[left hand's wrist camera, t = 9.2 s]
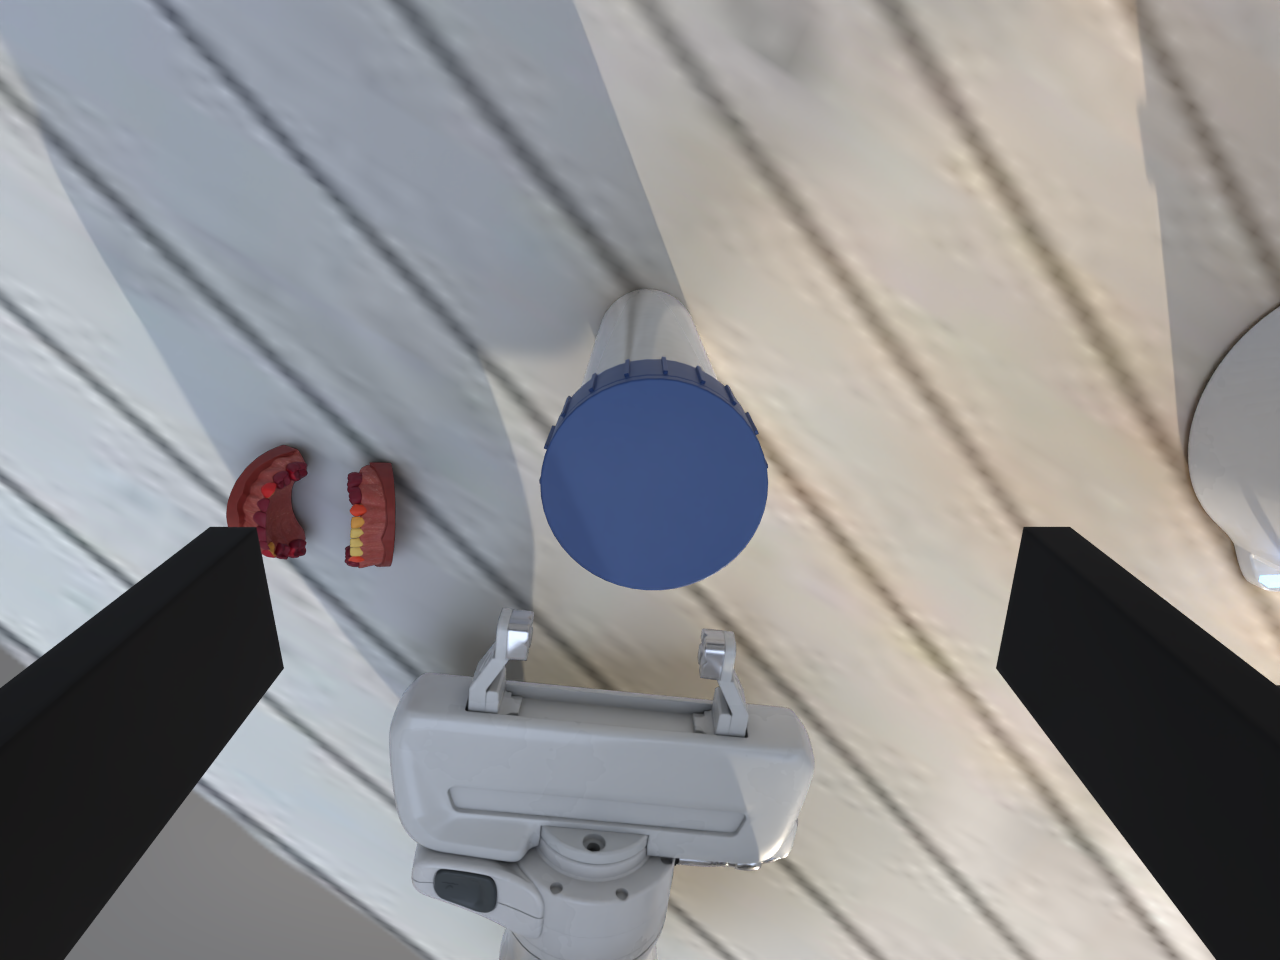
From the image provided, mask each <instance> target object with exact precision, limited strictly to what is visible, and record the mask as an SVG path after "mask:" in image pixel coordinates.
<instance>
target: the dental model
mask: <svg viewBox="0 0 1280 960" xmlns="http://www.w3.org/2000/svg"><path fill="white" fill-rule="evenodd" d="M306 468H307V464H306V463H305V461H304V459H303V457H302V455H301V454H300V452H299V450H297V449H295V448H292V447H289V446H286V445H281V446H279V447H276V448H274V449H271V450H269V451H267V452H265V453H264V454H262V455H261V456H259V457H258V458H256V459H255V460H254V461H253V462H252V463H251V464H250V465H249V466H248V467H247V468H246V469H245V470H244V471H243V473H242V474H241V475H240V477H239V478H238V479H237V481H236V483H235V485H234V487H233V489H232V491H231V494H230V497H229V500H228V504H227V512H226V518H227V524H228V527H256V528H257V533H258V538H259V543H260V548H261V553H262V554H263V555H265V556H267V557H272V558H275V557H277V558H279V559H287V558H288V556H289V557H290V558H298V557H299V556H303V555H305V554H306V548H305V545H306V541H305V539H306V538H305V533H304V530H303V528H302V527H301V526H300V525H299V523H298V522H297V520H296V517H295V515H294V513H293V509H292V504H291V491H292V487H293V484H294V482H295V481H298V480H300V479H301V478H303V477H305V476H306V475H307V471H306ZM347 486H348V489H347V491H348V492H349V498H350V499H349V501H350V502H351V503H352V505H353V506H352V508H351V509H350V513H351V514H352V515H353V516H356V517H353V518H352V520H351V528H353V529H351V534H350V538H353V539H350V545H349V546H347V547H346V548H345V550H346V552H345V555H346V556H345V558H346V559H345V563H347V565H349V566H352V567H358V568H363V567H368V566H372V565H375V566H377V567H388V566H391V563H392V559H393V551H394V541H395V489H394V477H393V470H392V465H391V463H378V462H370V465H366V466H364V467H363V468H361V470H360V471H359V473H357V472H352V473H350V474H348V483H347ZM357 516H360V517H357ZM359 527H360V528H359ZM358 537H359V538H358Z"/></svg>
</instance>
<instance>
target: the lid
mask: <svg viewBox="0 0 1280 960" xmlns="http://www.w3.org/2000/svg"><path fill="white" fill-rule="evenodd" d="M757 434H759V433H758V431H757V429H756V427H755V425H754V423H753V421H752V419H751V417H750V415H749V413H748V412H747V413H745V412H744V410H743V409H742V407H741V405H740V404H739V402H738V401H737V400H736V398H735V397H734V395H733V393H732V391H731V389H730V387H729V386H728V385H726V386H724V385H723V384H721V383H720V382H719V381H718V380H716V379H715V378H714V377H712V376H711V375H709V374H707V373H705V372H704V371H702V369H701V367H700V366H698V365H697V366H696V368H695V367H693V366H690V365H688V364H684V363H680V362H676V361H671V360H666V357H662V358H661V359H644V360H636V361H630V359H627V360H625V363H623V364H619V365H617V366H614V367H612V368H609V369H607V370H605V371H603V372H601V373H600V374H598V375H597V373H594V374H593V375H592V378H591V380H589V381H588V382H587V383H585V384H584V385H583V386H582V387H581V388H580V389H579V390H578V391H577V392H576V393H575V394H574V395H573V396H572V397H570V396H568V398H567V400H566V402H565V405H564V408H563V411H562V413H561V415H560V416H559V419H558V421H557V424H556V426H552V428H551V430H550V433H549V436H548V438H547V441H546V443H545V446H544V449H547V451H546V453H545V457H544V461H543V465H542V471H541V477H540V480H539V481H540V485H541V499H542V504H543V509H544V512H545V515H546V518H547V521H548V524H549V526H550V528H551V530H552V532H553V534H554V536H555V537H556V539H557V540H558V542H559V543H560V545H561V546H562V547H563V548H564V550H565V551H566V552H567V553H568V554H569V555H570V556H571V557H572V558H573V559H574V560H575V561H576V562H577V563H578V564H580V565H581V566H582V567H583V568H585V569H586V570H588V571H589V572H591V573H592V574H594V575H596V576H598V577H600V578H602V579H604V580H606V581H609V582H611V583H614V584H617V585H620V586H624V587H628V588H632V589H641V590H666V589H675V588H679V587H683V586H687V585H690V584H693V583H696V582H699V581H701V580H703V579H705V578H707V577H709V576H711V575H713V574H715V573H716V572H718V571H719V570H721V569H722V568H724V567H725V566H727V565H728V564H729V563H730V562H731V561H732V560H734V559H735V558H736V557H737V556H738V555H739V554H740V552H741V551H742V550H743V549H744V548H745V547H746V546H747V544H748V543H749V541H750V540H751V538H752V537H753V535H754V533H755V532H756V530H757V528H758V526H759V524H760V521H761V518H762V516H763V513H764V510H765V505H766V500H767V492H768V475H767V468H768V464H767V462H766V460H765V458H764V454H763V451H762V449H761V446H760V443H759V441H758V439H757V437H756V435H757Z"/></svg>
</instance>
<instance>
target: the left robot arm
mask: <svg viewBox="0 0 1280 960" xmlns="http://www.w3.org/2000/svg"><path fill="white" fill-rule="evenodd" d="M283 669H284V667H283V662H282V656H281V651H280V646H279V641H278V636H277V631H276V625H275V620H274V615H273V610H272V605H271V600H270V595H269V589H268V584H267V579H266V574H265V569H264V564H263V559H262V553H261V548H260V543H259V538H258V533H257V528H256V527H209V528H208V529H207V530H205V531H204V532H203V533H202V534H200V535H199V536H198V537H196V538H195V539H194V540H192V541H191V542H190V543H189V544H187V545H186V546H185V547H183V548H182V549H181V550H179V551H178V552H177V553H176V554H174V555H173V556H172V557H170V558H169V559H168V560H166V561H165V562H164V563H163V564H161V565H160V566H159V567H157V568H156V569H155V570H153V571H152V572H151V573H150V574H148V575H147V576H146V577H144V578H143V579H142V580H140V581H139V582H138V583H137V584H135V585H134V586H133V587H131V588H130V589H129V590H127V591H126V592H125V593H124V594H122V595H121V596H120V597H118V598H117V599H116V600H114V601H113V602H112V603H111V604H109V605H108V606H107V607H105V608H104V609H103V610H101V611H100V612H99V613H98V614H96V615H95V616H94V617H92V618H91V619H90V620H88V621H87V622H86V623H84V624H83V625H82V626H81V627H79V628H78V629H77V630H75V631H74V632H73V633H71V634H70V635H69V636H68V637H66V638H65V639H64V640H62V641H61V642H60V643H58V644H57V645H56V646H55V647H53V648H52V649H51V650H49V651H48V652H47V653H45V654H44V655H43V656H42V657H40V658H39V659H38V660H36V661H35V662H34V663H32V664H31V665H30V666H29V667H27V668H26V669H25V670H23V671H22V672H21V673H19V674H18V675H17V676H16V677H14V678H13V679H12V680H10V681H9V682H8V683H6V684H5V685H4V686H3V687H1V688H0V960H64V959H65V957H66V956H67V955H68V953H69V952H70V951H71V949H72V948H73V947H74V945H75V944H76V943H77V942H78V940H79V939H80V938H81V936H82V935H83V934H84V932H85V931H86V930H87V928H88V927H89V926H90V924H91V923H92V922H93V920H94V919H95V918H96V916H97V915H98V914H99V912H100V911H101V910H102V908H103V907H104V906H105V904H106V903H107V902H108V900H109V899H110V898H111V896H112V895H113V894H114V893H115V891H116V890H117V889H118V887H119V886H120V885H121V883H122V882H123V881H124V879H125V878H126V877H127V875H128V874H129V873H130V871H131V870H132V869H133V867H134V866H135V865H136V863H137V862H138V861H139V859H140V858H141V857H142V855H143V854H144V853H145V851H146V850H147V849H148V847H149V846H150V845H151V843H152V842H153V841H154V840H155V838H156V837H157V836H158V834H159V833H160V831H161V830H162V829H163V828H164V826H165V825H166V824H167V822H168V821H169V820H170V818H171V817H172V816H173V814H174V813H175V812H176V810H177V809H178V808H179V806H180V805H181V804H182V802H183V801H184V800H185V798H186V797H187V796H188V795H189V793H190V792H191V791H192V789H193V788H194V787H195V785H196V784H197V783H198V781H199V780H200V779H201V777H202V776H203V775H204V773H205V772H206V771H207V769H208V768H209V767H210V765H211V764H212V763H213V761H214V760H215V759H216V757H217V756H218V755H219V753H220V752H221V751H222V749H223V748H224V747H225V746H226V744H227V743H228V742H229V740H230V739H231V738H232V736H233V735H234V734H235V732H236V731H237V730H238V728H239V727H240V726H241V724H242V723H243V722H244V720H245V719H246V718H247V716H248V715H249V714H250V712H251V711H252V710H253V708H254V707H255V706H256V704H257V703H258V702H259V700H260V699H261V698H262V697H263V695H264V694H265V693H266V691H267V690H268V689H269V687H270V686H271V685H272V683H273V682H274V681H275V679H276V678H277V677H278V675H279V674H280V673H281V671H282V670H283ZM996 669H997V670H998V671H999V673H1000V674H1001V675H1002V677H1003V678H1004V679H1005V681H1006V682H1007V683H1008V685H1009V686H1010V687H1011V689H1012V690H1013V691H1014V693H1015V694H1016V695H1017V697H1018V698H1019V699H1020V700H1021V702H1022V703H1023V704H1024V706H1025V707H1026V708H1027V710H1028V711H1029V712H1030V714H1031V715H1032V716H1033V718H1034V719H1035V720H1036V722H1037V723H1038V724H1039V726H1040V727H1041V728H1042V730H1043V731H1044V732H1045V734H1046V735H1047V736H1048V738H1049V739H1050V740H1051V742H1052V743H1053V744H1054V746H1055V747H1056V748H1057V749H1058V751H1059V752H1060V753H1061V755H1062V756H1063V757H1064V759H1065V760H1066V761H1067V763H1068V764H1069V765H1070V767H1071V768H1072V769H1073V771H1074V772H1075V773H1076V775H1077V776H1078V777H1079V779H1080V780H1081V781H1082V783H1083V784H1084V785H1085V787H1086V788H1087V789H1088V791H1089V792H1090V793H1091V795H1092V796H1093V797H1094V798H1095V800H1096V801H1097V802H1098V804H1099V805H1100V806H1101V808H1102V809H1103V810H1104V812H1105V813H1106V814H1107V816H1108V817H1109V818H1110V820H1111V821H1112V822H1113V824H1114V825H1115V826H1116V828H1117V829H1118V830H1119V832H1120V833H1121V834H1122V836H1123V837H1124V838H1125V840H1126V841H1127V842H1128V844H1129V845H1130V846H1131V848H1132V849H1133V850H1134V851H1135V853H1136V854H1137V855H1138V857H1139V858H1140V859H1141V861H1142V862H1143V863H1144V865H1145V866H1146V867H1147V869H1148V870H1149V871H1150V873H1151V874H1152V875H1153V877H1154V878H1155V879H1156V881H1157V882H1158V883H1159V885H1160V886H1161V887H1162V889H1163V890H1164V891H1165V893H1166V894H1167V895H1168V897H1169V898H1170V899H1171V900H1172V902H1173V903H1174V904H1175V906H1176V907H1177V908H1178V910H1179V911H1180V912H1181V914H1182V915H1183V916H1184V918H1185V919H1186V920H1187V922H1188V923H1189V924H1190V926H1191V927H1192V928H1193V930H1194V931H1195V932H1196V934H1197V935H1198V936H1199V938H1200V939H1201V940H1202V942H1203V943H1204V944H1205V946H1206V947H1207V948H1208V949H1209V951H1210V952H1211V953H1212V955H1213V956H1214V957H1215V959H1216V960H1280V685H1275V684H1274V683H1272V682H1271V681H1270V680H1268V679H1267V678H1266V677H1264V676H1263V675H1262V674H1261V673H1259V672H1258V671H1257V670H1255V669H1254V668H1253V667H1251V666H1250V665H1249V664H1248V663H1246V662H1245V661H1244V660H1242V659H1241V658H1240V657H1238V656H1237V655H1236V654H1235V653H1233V652H1232V651H1231V650H1229V649H1228V648H1227V647H1225V646H1224V645H1223V644H1222V643H1220V642H1219V641H1218V640H1216V639H1215V638H1214V637H1212V636H1211V635H1210V634H1209V633H1207V632H1206V631H1205V630H1203V629H1202V628H1201V627H1199V626H1198V625H1197V624H1195V623H1194V622H1193V621H1192V620H1190V619H1189V618H1188V617H1186V616H1185V615H1184V614H1182V613H1181V612H1180V611H1179V610H1177V609H1176V608H1175V607H1173V606H1172V605H1171V604H1169V603H1168V602H1167V601H1166V600H1164V599H1163V598H1162V597H1160V596H1159V595H1158V594H1156V593H1155V592H1154V591H1153V590H1151V589H1150V588H1149V587H1147V586H1146V585H1145V584H1143V583H1142V582H1141V581H1140V580H1138V579H1137V578H1136V577H1134V576H1133V575H1132V574H1130V573H1129V572H1128V571H1127V570H1125V569H1124V568H1123V567H1121V566H1120V565H1119V564H1117V563H1116V562H1115V561H1114V560H1112V559H1111V558H1110V557H1108V556H1107V555H1106V554H1104V553H1103V552H1102V551H1101V550H1099V549H1098V548H1097V547H1095V546H1094V545H1093V544H1091V543H1090V542H1089V541H1088V540H1086V539H1085V538H1084V537H1082V536H1081V535H1080V534H1078V533H1077V532H1076V531H1074V530H1073V529H1072V528H1071V527H1024V528H1023V533H1022V538H1021V543H1020V548H1019V553H1018V559H1017V564H1016V569H1015V574H1014V579H1013V584H1012V589H1011V595H1010V600H1009V605H1008V610H1007V615H1006V620H1005V625H1004V631H1003V636H1002V641H1001V646H1000V651H999V656H998V661H997V667H996Z"/></svg>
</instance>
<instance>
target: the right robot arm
mask: <svg viewBox="0 0 1280 960" xmlns="http://www.w3.org/2000/svg"><path fill="white" fill-rule="evenodd" d="M1188 465H1189V473H1190V478H1191V482H1192V485H1193V488H1194V491H1195V493H1196V496H1197V498H1198V500H1199V502H1200V504H1201V505H1202V507H1203V508H1204V510H1205V511H1206V513H1207V514H1208V515H1209V516H1210V517H1211V519H1212V520H1213V521H1214V522H1215V523H1216V524H1217V525H1218V526H1219V527H1220V528H1221V529H1222V530H1223V531H1224V532H1225V533H1226V534H1227V535H1228V536H1229V537H1230V539H1231V540H1232V542H1233V543H1234V546H1235V551H1236V555H1237V559H1238V563H1239V566H1240V569H1241V572H1242V574H1243V576H1244V577H1245V579H1246V580H1247V581H1248V582H1250V583H1251V584H1253V585H1255V586H1258V587H1260V588H1262V589H1264V590H1267V591H1273V592H1278V591H1280V306H1279V307H1278V308H1276V309H1275V310H1273V311H1272V312H1271V313H1269V314H1268V315H1267V316H1265V317H1264V318H1263V319H1261V320H1260V321H1259V322H1258V323H1257V324H1256V325H1255V326H1253V327H1252V328H1251V329H1250V330H1249V331H1248V332H1247V333H1246V334H1245V335H1244V336H1243V337H1242V338H1241V339H1240V340H1239V341H1238V342H1237V343H1236V344H1235V345H1234V347H1233V348H1232V349H1231V350H1230V351H1229V353H1228V354H1227V355H1226V356H1225V358H1224V359H1223V360H1222V362H1221V363H1220V364H1219V366H1218V367H1217V369H1216V370H1215V372H1214V373H1213V375H1212V377H1211V378H1210V380H1209V382H1208V384H1207V386H1206V388H1205V390H1204V392H1203V394H1202V396H1201V398H1200V400H1199V403H1198V405H1197V408H1196V411H1195V414H1194V417H1193V421H1192V425H1191V430H1190V435H1189V443H1188ZM533 618H534V611H526V610H518V609H508V608H502V611H501V614H500V617H499V620H498V625H497V631H496V641H495V643H494V644H493V645H492V646H491V647H490V649H489V650H488V651H487V652H486V654H485V655H484V656H483V657H482V659H481V660H480V661H479V662H478V665H477V668H476V671H475V673H474V676H473V677H469V676H459V675H449V674H440V673H424V674H422V675H421V676H419V677H418V678H417V679H416V680H415V681H414V682H413V683H412V684H411V685H410V686H409V687H408V688H407V689H406V691H405V692H404V694H403V696H402V698H401V699H400V701H399V704H398V706H397V708H396V711H395V713H394V716H393V718H392V722H391V726H390V736H389V748H390V766H391V775H392V783H393V791H394V796H395V802H396V807H397V812H398V815H399V818H400V821H401V823H402V825H403V827H404V829H405V830H406V832H407V833H408V834H409V836H410V837H411V838H412V839H413V840H415V841H416V842H417V847H416V852H415V857H414V862H413V868H412V883H413V886H414V887H415V889H416V890H418V891H419V892H420V893H422V894H424V895H426V896H429V897H432V898H434V899H437V900H440V901H444V902H447V903H449V904H452V905H455V906H458V907H461V908H463V909H466V910H469V911H471V912H474V913H476V914H479V915H481V916H483V917H485V918H488V919H490V920H492V921H494V922H496V923H498V924H500V925H501V926H503V927H505V928H506V929H505V931H504V935H503V938H502V942H501V947H500V956H499V960H657V948H656V942H657V940H658V938H659V936H660V934H661V932H662V928H663V925H664V922H665V918H666V912H667V907H668V901H669V895H670V889H671V883H672V878H673V870H674V866H676V864H679V865H680V864H681V865H690V866H702V867H711V866H712V867H715V866H727V867H735V869H738V870H747V871H748V870H758V869H760V868H761V864H762V863H770V862H773V861H776V860H778V859H780V858H785V857H787V856H788V854H789V853H790V851H791V849H792V847H793V843H794V838H795V834H796V830H797V826H798V815H799V813H800V811H801V808H802V806H803V803H804V801H805V798H806V795H807V793H808V790H809V787H810V784H811V781H812V777H813V773H814V768H815V761H814V755H813V750H812V746H811V742H810V739H809V736H808V733H807V731H806V729H805V727H804V725H803V723H802V722H801V720H800V719H799V718H798V716H797V715H796V714H795V712H794V711H793V710H791V709H789V708H785V707H777V706H766V705H756V704H746V700H745V695H744V690H743V687H742V685H741V683H740V681H739V679H738V676H737V674H736V672H735V670H734V663H735V657H736V641H735V636H734V632H732V631H722V630H712V629H702V633H701V642H702V643H701V644H700V645H699V651H698V664H699V665H700V668H699V672H700V678H705V679H713V680H717V682H718V684H719V686H720V687H717V688H715V693H714V698H713V700H705V699H694V698H684V697H674V696H663V695H653V694H643V693H633V692H623V691H612V690H602V689H592V688H581V687H571V686H561V685H551V684H540V683H530V682H520V681H510V680H506V667H505V665H506V663H507V662H508V661H509V659H510V660H524V661H527V657H528V653H529V648H530V645H531V641H532V631H533V628H532V623H533Z"/></svg>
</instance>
